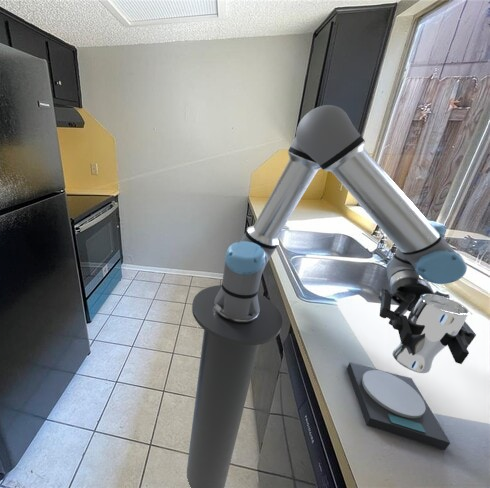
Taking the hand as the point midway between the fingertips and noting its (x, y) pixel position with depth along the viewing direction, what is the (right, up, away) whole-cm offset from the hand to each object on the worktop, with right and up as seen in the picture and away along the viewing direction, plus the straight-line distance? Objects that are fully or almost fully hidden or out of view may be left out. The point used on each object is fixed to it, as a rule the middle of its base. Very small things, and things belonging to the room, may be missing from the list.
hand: (433, 347), depth 47 cm
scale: (+1, -17, +11) cm, 20 cm away
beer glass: (+2, -6, +7) cm, 10 cm away
